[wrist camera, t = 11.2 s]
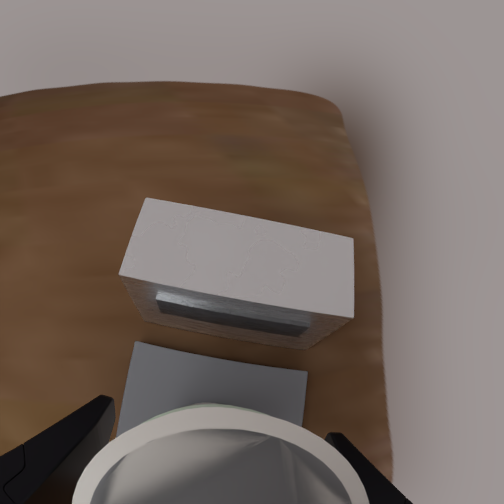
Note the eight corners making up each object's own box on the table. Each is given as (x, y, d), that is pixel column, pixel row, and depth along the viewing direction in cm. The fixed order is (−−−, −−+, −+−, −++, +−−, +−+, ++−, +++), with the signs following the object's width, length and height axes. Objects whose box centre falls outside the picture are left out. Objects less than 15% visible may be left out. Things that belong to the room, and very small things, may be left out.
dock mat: (281, 524, 14) (285, 529, 13) (111, 497, 13) (107, 501, 12) (302, 373, 19) (307, 371, 18) (138, 344, 18) (135, 340, 17)
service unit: (304, 353, 19) (353, 322, 13) (143, 324, 19) (117, 278, 12) (309, 288, 21) (353, 235, 15) (160, 260, 21) (147, 194, 15)
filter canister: (269, 468, 15) (401, 569, 3) (182, 498, 13) (155, 651, 2) (234, 388, 17) (311, 358, 5) (147, 417, 15) (24, 443, 4)
